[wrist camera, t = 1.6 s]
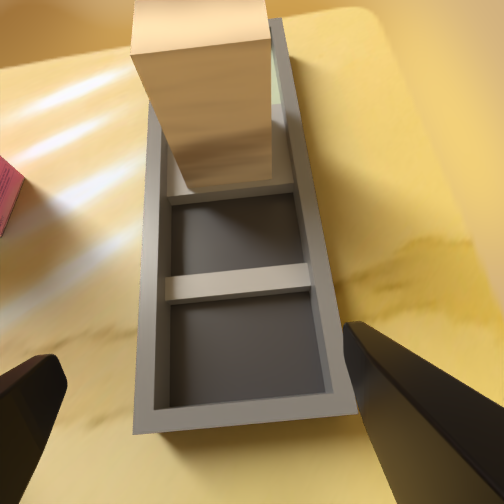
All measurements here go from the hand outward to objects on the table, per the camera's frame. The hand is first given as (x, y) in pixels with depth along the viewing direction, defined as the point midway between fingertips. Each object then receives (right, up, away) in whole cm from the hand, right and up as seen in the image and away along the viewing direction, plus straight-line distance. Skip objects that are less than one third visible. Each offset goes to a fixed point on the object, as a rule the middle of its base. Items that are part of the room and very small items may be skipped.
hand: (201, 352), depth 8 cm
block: (-1, +10, +16) cm, 19 cm away
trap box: (0, +7, +16) cm, 18 cm away
